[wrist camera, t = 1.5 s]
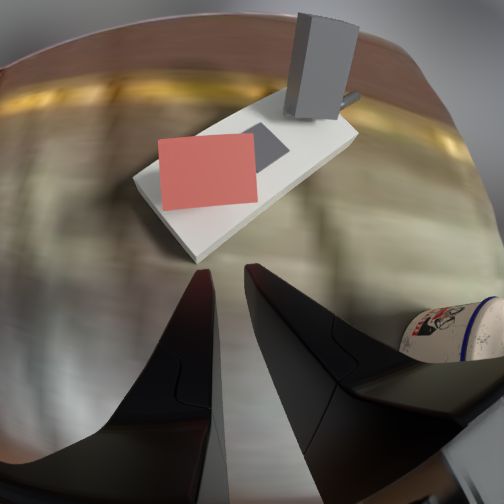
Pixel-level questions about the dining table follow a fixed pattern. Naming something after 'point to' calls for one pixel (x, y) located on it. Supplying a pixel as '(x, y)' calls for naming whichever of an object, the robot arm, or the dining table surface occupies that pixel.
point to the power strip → (267, 169)
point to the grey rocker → (319, 67)
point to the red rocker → (207, 171)
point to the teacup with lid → (457, 333)
